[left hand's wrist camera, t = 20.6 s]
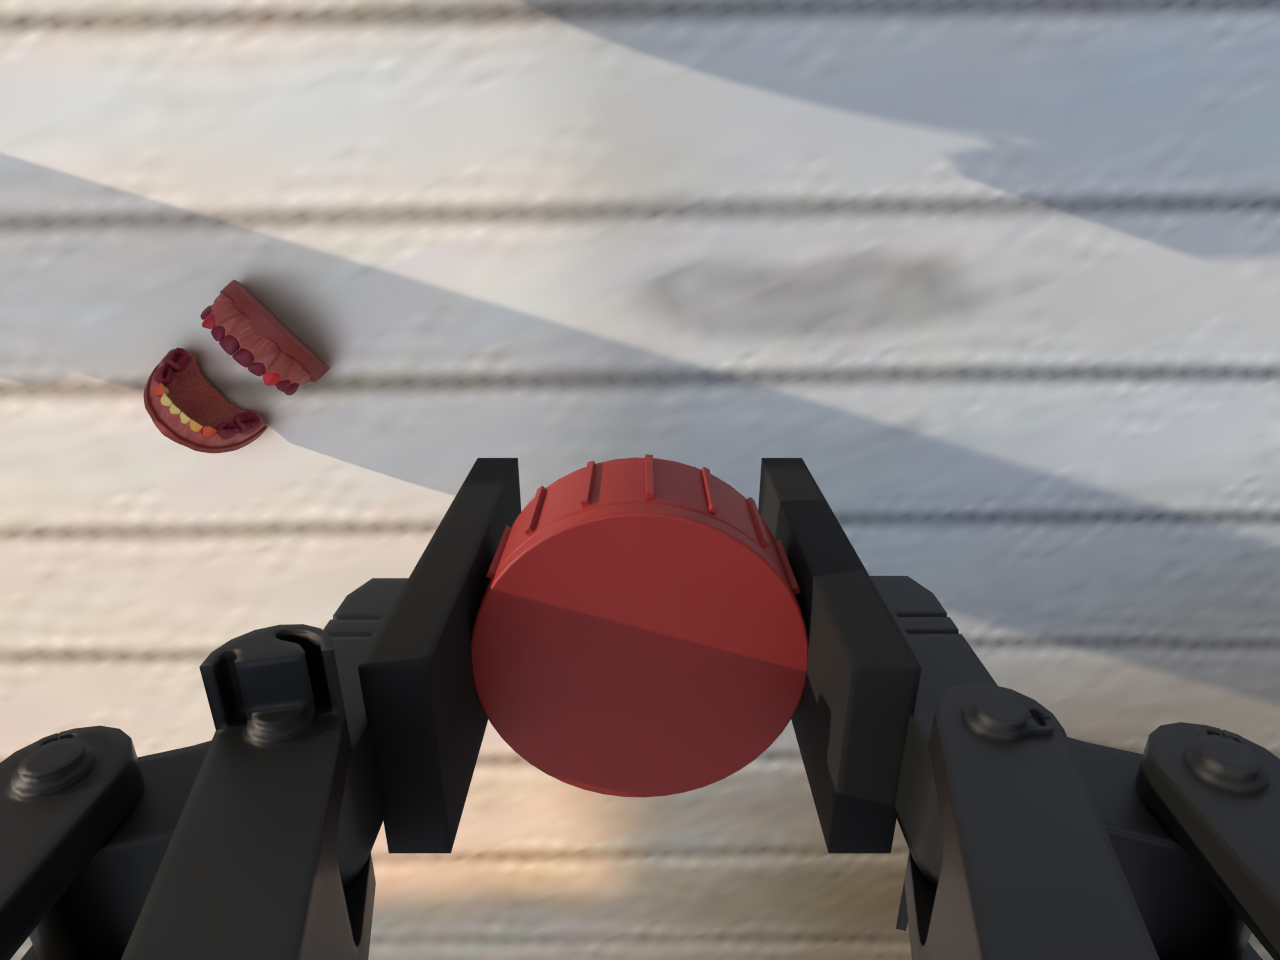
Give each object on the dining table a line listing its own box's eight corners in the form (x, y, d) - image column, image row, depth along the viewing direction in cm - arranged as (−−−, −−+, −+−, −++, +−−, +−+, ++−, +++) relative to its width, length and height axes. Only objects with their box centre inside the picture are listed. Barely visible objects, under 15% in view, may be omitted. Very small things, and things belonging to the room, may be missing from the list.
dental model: (98, 398, 33) (210, 274, 31) (152, 373, 37) (255, 262, 35) (204, 484, 35) (317, 373, 33) (245, 452, 39) (348, 350, 37)
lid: (429, 571, 12) (389, 645, 10) (663, 388, 11) (669, 433, 9) (618, 753, 14) (615, 849, 12) (844, 608, 12) (881, 688, 10)
